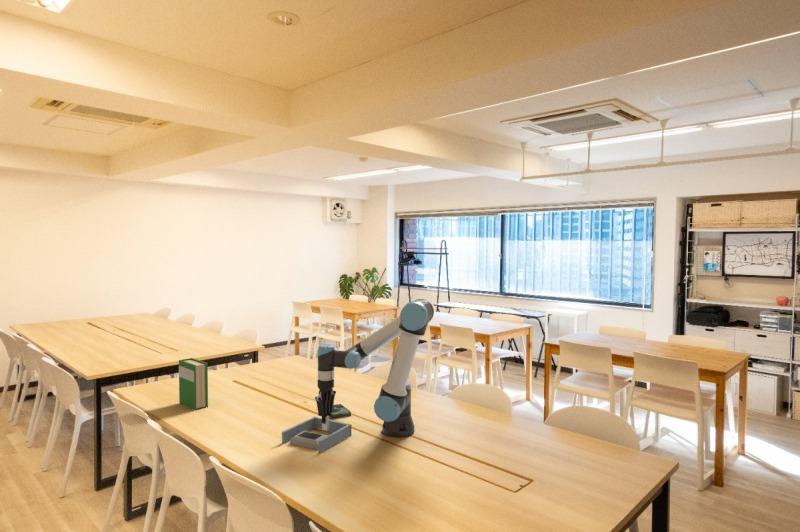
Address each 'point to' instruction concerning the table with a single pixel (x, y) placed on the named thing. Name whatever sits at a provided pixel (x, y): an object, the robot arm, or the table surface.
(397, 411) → the robot arm
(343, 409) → the disk drive
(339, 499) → the table surface
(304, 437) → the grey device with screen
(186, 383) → the hardback book
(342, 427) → the open u-shaped frame
